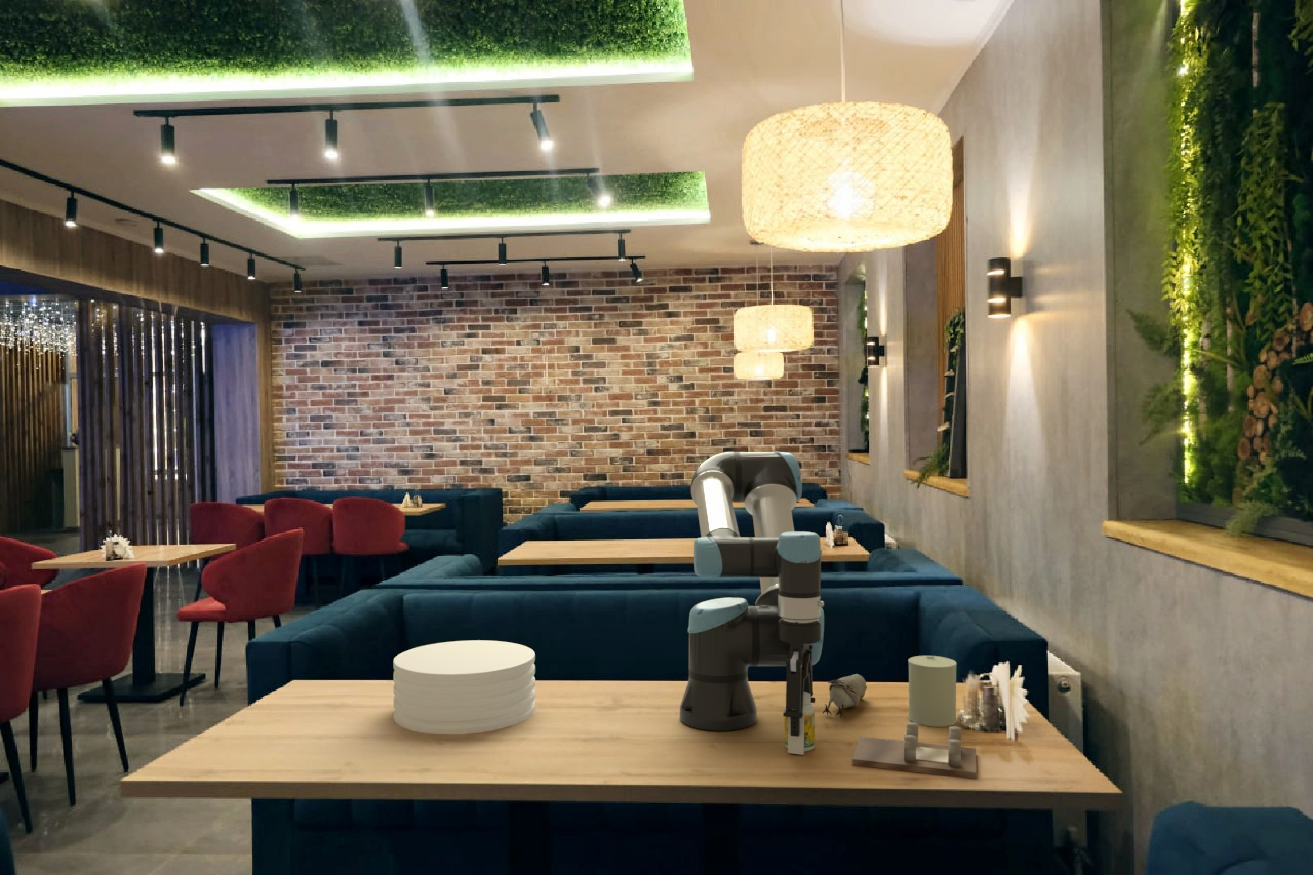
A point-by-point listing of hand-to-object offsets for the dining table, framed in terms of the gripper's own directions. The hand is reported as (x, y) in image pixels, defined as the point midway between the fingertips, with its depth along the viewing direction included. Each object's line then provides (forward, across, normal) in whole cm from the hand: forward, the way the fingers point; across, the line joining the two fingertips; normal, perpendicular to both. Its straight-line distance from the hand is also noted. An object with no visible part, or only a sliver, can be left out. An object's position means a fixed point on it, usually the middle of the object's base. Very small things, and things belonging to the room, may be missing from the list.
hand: (799, 745), depth 168 cm
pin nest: (0, 0, -20) cm, 20 cm away
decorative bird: (+1, +27, -5) cm, 27 cm away
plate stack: (+1, 0, +68) cm, 68 cm away
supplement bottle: (0, 0, 0) cm, 0 cm away
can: (0, +24, -22) cm, 33 cm away
